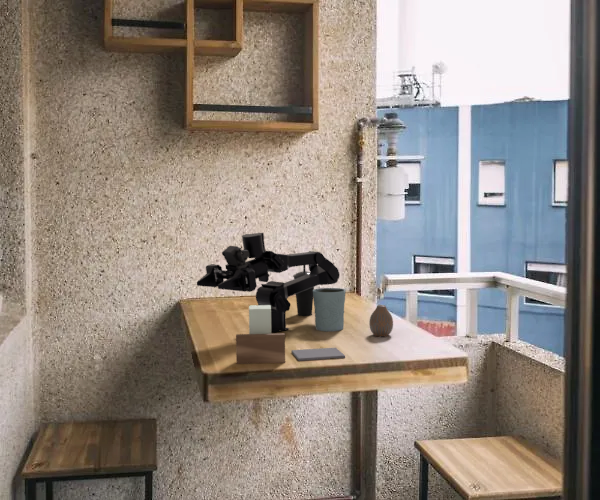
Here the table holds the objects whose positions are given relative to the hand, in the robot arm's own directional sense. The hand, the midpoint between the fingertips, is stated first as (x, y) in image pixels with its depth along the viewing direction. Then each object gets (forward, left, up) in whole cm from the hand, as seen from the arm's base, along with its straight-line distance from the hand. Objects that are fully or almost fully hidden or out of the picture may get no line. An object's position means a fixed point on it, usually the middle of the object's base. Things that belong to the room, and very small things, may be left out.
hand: (207, 285), depth 185 cm
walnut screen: (-1, +25, -16) cm, 30 cm away
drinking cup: (-47, -20, -17) cm, 54 cm away
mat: (-17, +28, -16) cm, 37 cm away
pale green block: (-4, +21, -17) cm, 27 cm away
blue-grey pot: (-40, +3, -17) cm, 43 cm away
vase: (-46, +20, -17) cm, 53 cm away
